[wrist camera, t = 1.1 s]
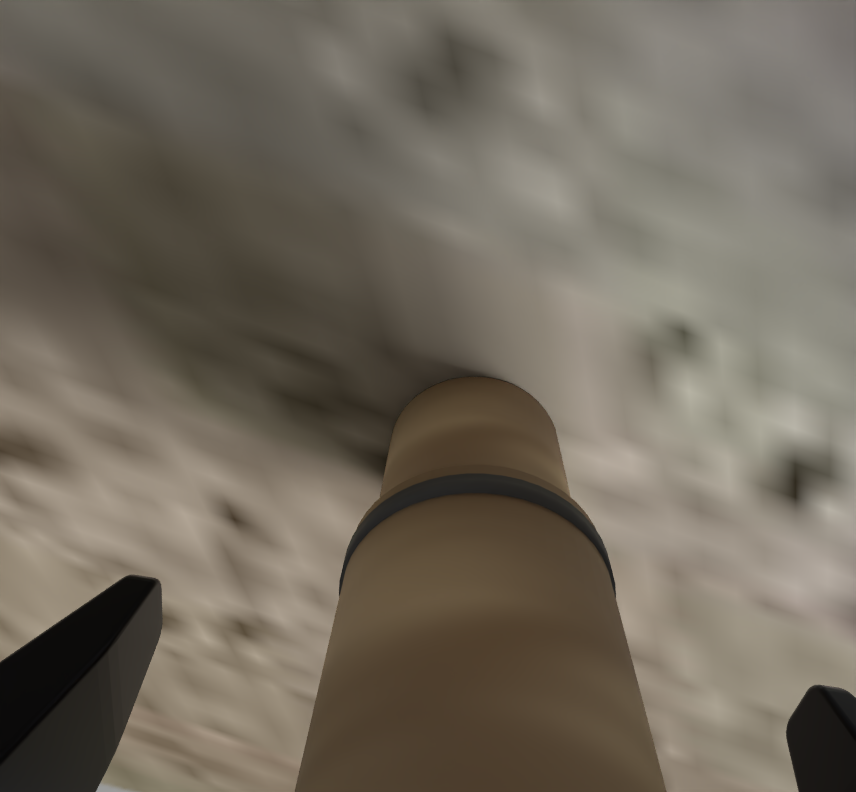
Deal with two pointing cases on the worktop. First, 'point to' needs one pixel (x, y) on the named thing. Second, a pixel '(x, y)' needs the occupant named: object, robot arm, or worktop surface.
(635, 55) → the worktop surface
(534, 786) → the oak peg
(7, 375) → the worktop surface
